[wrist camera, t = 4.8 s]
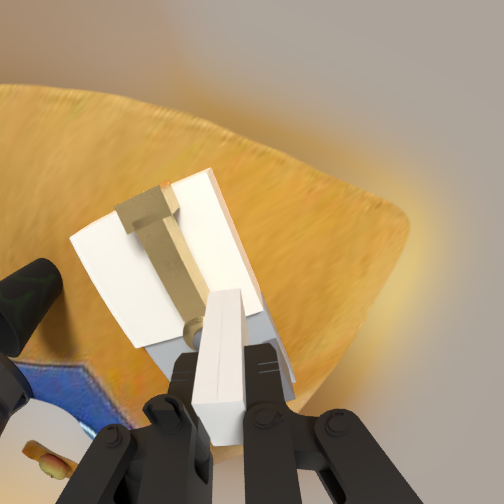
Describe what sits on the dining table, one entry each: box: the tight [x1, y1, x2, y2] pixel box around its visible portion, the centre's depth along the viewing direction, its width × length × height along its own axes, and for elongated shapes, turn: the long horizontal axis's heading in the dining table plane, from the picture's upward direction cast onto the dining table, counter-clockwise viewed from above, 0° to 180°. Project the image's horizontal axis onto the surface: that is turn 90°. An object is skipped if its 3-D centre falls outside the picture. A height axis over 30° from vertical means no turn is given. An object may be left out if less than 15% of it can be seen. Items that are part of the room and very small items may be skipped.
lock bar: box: [114, 179, 210, 352], centre depth 23 cm, size 4×15×3 cm, turn 20°
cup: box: [0, 258, 63, 358], centre depth 24 cm, size 8×8×12 cm
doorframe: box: [70, 168, 296, 402], centre depth 28 cm, size 15×28×9 cm, turn 20°
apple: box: [39, 454, 68, 480], centre depth 48 cm, size 10×10×8 cm
